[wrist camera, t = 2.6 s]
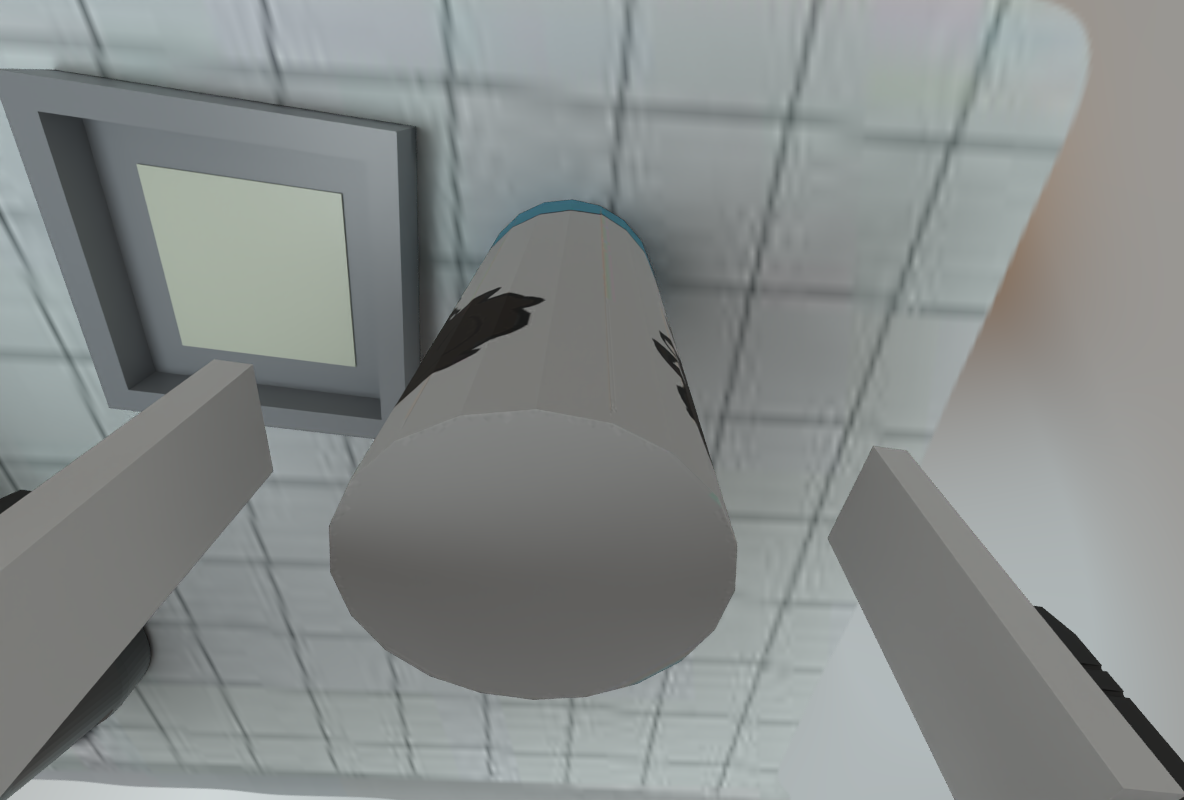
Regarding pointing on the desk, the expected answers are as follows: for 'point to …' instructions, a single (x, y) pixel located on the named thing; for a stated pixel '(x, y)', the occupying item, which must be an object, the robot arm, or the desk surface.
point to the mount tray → (228, 242)
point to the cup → (542, 480)
